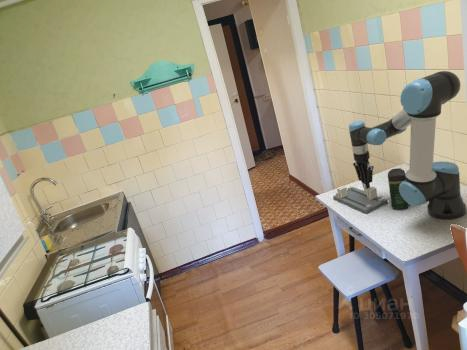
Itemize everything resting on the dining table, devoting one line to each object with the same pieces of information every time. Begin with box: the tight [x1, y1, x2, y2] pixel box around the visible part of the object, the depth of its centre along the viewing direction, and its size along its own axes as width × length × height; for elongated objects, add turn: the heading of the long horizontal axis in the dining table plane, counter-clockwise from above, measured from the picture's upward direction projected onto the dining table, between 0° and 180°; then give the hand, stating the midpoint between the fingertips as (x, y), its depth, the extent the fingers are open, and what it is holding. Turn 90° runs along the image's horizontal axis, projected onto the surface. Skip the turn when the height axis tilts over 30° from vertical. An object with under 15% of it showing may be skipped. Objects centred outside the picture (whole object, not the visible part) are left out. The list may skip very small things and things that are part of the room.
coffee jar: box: [387, 167, 410, 211], centre depth 181 cm, size 10×8×19 cm
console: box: [332, 186, 389, 215], centre depth 198 cm, size 26×14×3 cm, turn 22°
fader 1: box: [336, 185, 348, 198], centre depth 203 cm, size 3×4×5 cm
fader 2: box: [366, 186, 379, 200], centre depth 193 cm, size 3×4×5 cm
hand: (367, 193), depth 196 cm, fingers closed
